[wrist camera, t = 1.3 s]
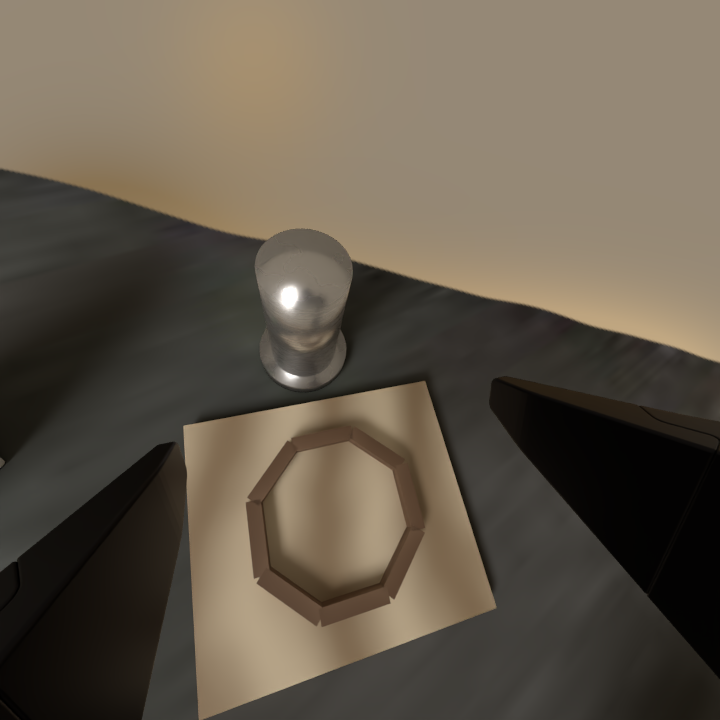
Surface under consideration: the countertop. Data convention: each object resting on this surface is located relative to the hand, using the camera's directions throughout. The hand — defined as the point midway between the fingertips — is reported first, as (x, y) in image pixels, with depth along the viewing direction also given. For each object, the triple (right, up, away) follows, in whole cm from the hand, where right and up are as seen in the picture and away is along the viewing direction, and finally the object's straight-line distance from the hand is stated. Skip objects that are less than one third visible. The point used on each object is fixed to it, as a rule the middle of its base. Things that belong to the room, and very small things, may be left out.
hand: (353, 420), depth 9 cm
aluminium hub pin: (-4, +2, +15) cm, 16 cm away
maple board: (-1, -8, +11) cm, 14 cm away
